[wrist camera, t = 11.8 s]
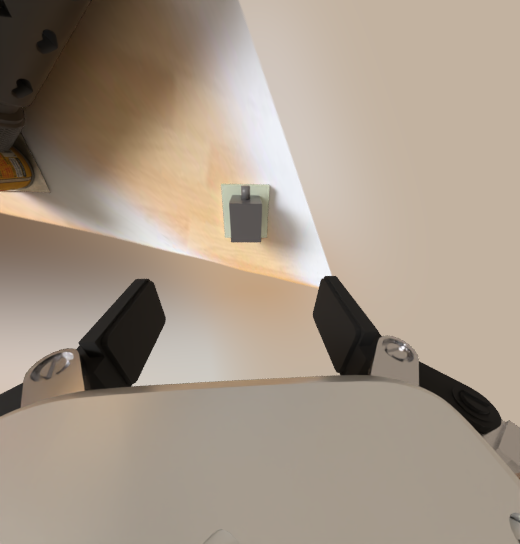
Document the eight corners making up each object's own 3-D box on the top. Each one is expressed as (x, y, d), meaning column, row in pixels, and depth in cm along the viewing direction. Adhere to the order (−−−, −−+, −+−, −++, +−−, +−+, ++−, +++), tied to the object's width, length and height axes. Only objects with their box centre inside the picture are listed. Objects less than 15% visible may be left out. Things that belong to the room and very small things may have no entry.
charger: (231, 182, 26) (228, 188, 21) (259, 183, 27) (262, 189, 22) (233, 229, 30) (231, 243, 25) (258, 229, 30) (260, 244, 25)
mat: (221, 183, 27) (221, 184, 26) (268, 184, 28) (269, 185, 27) (225, 234, 32) (225, 237, 31) (266, 235, 32) (266, 237, 31)
